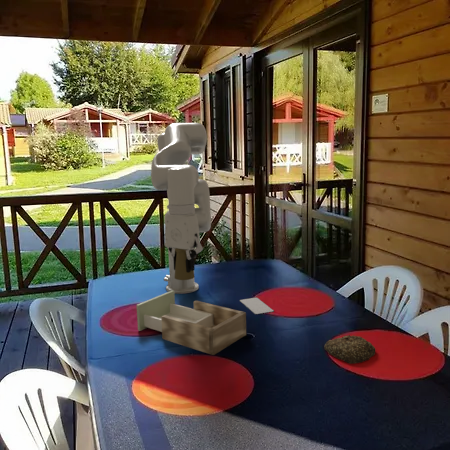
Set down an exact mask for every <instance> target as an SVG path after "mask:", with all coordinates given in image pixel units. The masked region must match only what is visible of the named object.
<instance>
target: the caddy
mask: <svg viewBox="0 0 450 450" xmlns="http://www.w3.org/2000/svg"><path fill="white" fill-rule="evenodd" d="M193 309H196V310H200V311H204V312H207V313H211V314H213V316H214V326H212V327H206V326H202V325H199V324H195V323H192V322H188V321H184V320H181V319H177V318H174V317H170V316H167V315H164V316H161V319H162V332H161V334H162V335H161V337H162V339H163V340H165V341H166V342H167V341H168V342H171V343H174V344H177V345H179V346H180V345H181V346H183V347H186V348H189V349H193V350H196V351H199V352H202V353H206V354H208V355H212V356H215V355H217V354H218V353H220V352H221V351H223V350H224V349H226V348H228V347H230V346H231V345H232V344H234V343H235V342H237V341H239V340H240V339H242V338H244V337H246V336H247V312H245V311H242V310H237V309H232V308H229V307H225V306H220V305H218V304H217V305H216V304H211V303H209V302H204V301H200V300H194V301H193Z"/></svg>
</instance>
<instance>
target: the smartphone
mask: <svg viewBox="0 0 450 450" xmlns="http://www.w3.org/2000/svg"><path fill="white" fill-rule="evenodd" d="M239 302H240V303H242V305H243V306H244V307H246V308H247V309H248V310H249V311H251V312H252V313H253V314H254V315H257V316H258V315H263V313H264V314H269V312H270V313H274V312H275V310H274V309H272V308H271V307H270V306H269V305H267V304H266V303H265V302H264V301H262V300H261V299H260V298H259V297H250V298H244V299H239Z"/></svg>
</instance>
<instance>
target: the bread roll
mask: <svg viewBox="0 0 450 450" xmlns="http://www.w3.org/2000/svg"><path fill="white" fill-rule="evenodd" d="M324 350H325V351H326V352H327V353H328V354H329V355H331V356H333V357H335V359H339V360H341V361H342V362H345V363H347V364H361V363H363V362H366V361H369V360H370V359H371V358H372V357H374V356H375V354H376V346H374V345H373V343H372V342H370V341H367V339H366V338H363V336H359V335H350V334H347V335H344V336H342V337H338V338H337V337H336V338H334V339H329V340H328V341H326V342H325V344H324Z"/></svg>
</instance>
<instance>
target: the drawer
mask: <svg viewBox="0 0 450 450" xmlns="http://www.w3.org/2000/svg"><path fill="white" fill-rule="evenodd" d="M175 294H176V293H174V291H173V290H172V291H169V292H168V291H166V292H165V293H162V294H159V295H157V296H154V297H152V298H150V299H148V300H144V301H143V302H141V303H137V304H136V317H137V318H136V319H137V331H139V332H140V331H144V330H145V329H147V328H148V329H151V330H155V331H157V332H161V333H162V319H161V316H164V315H167V316H170V317H174V318H177V319H181V320H184V321H188V322H192V323H195V324H199V325H202V326H206V327H212V326H214V316H213V314H211V313H207V312H204V311H200V310H196V309H194V308H191V307H188V306H183V305H180V304H176V301H175V300H176V299H175V298H176V297H175Z"/></svg>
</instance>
